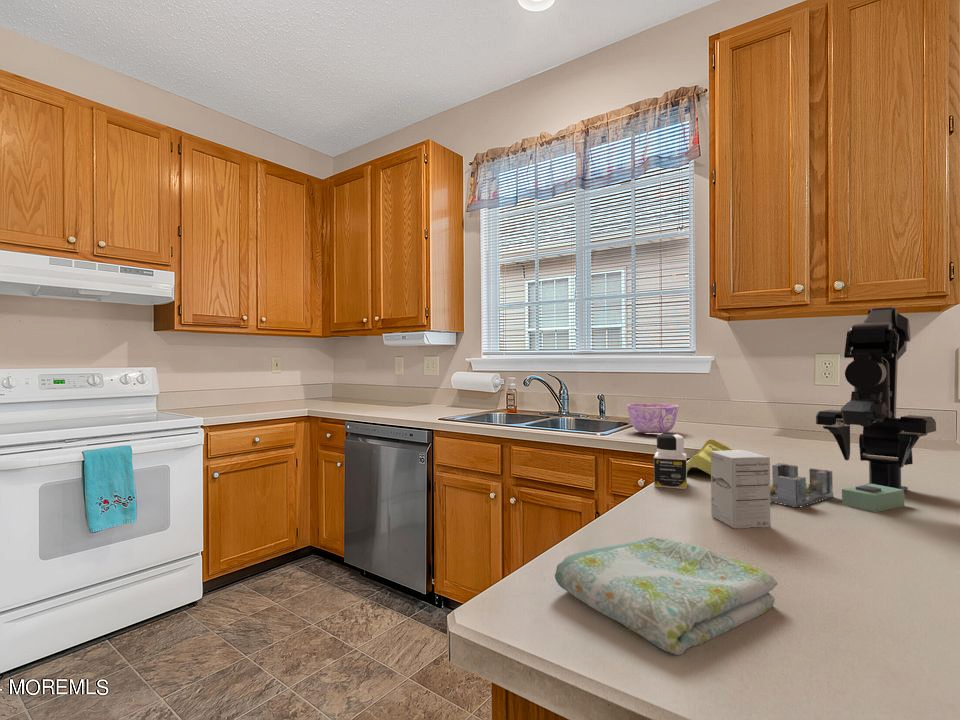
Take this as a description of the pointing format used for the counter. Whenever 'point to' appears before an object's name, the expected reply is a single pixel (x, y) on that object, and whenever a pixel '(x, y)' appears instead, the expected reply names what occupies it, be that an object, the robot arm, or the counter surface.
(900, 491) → the green block
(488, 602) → the counter surface
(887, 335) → the robot arm
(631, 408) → the purple round bowl
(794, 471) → the chassis
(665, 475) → the medicine bottle
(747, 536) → the counter surface
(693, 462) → the plastic component
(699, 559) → the towel
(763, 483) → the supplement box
